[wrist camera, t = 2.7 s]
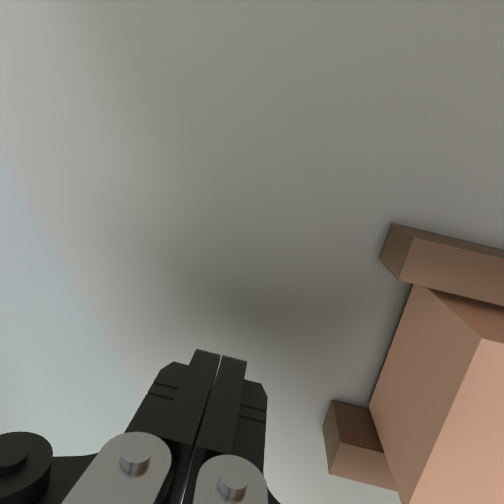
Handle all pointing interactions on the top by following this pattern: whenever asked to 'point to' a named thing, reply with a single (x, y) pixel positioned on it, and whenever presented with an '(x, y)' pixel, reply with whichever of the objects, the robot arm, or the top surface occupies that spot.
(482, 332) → the block
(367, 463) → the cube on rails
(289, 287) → the top surface
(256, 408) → the robot arm
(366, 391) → the top surface
